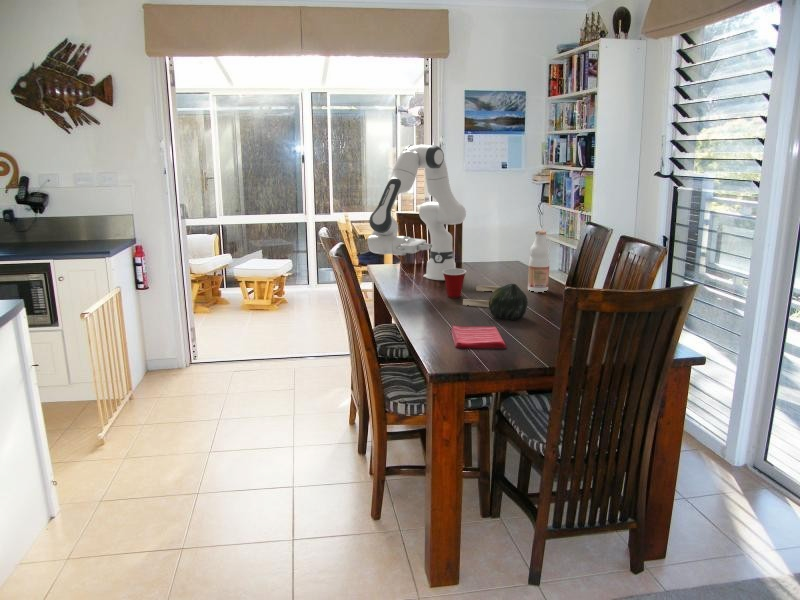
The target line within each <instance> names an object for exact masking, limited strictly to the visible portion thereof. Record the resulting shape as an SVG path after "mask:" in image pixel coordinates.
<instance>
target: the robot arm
mask: <svg viewBox="0 0 800 600" xmlns="http://www.w3.org/2000/svg"><path fill="white" fill-rule="evenodd" d="M419 169H424V175H425V180H426V181H425V182H426V188H427V193H428V194H429V195H430V196H431V197H433V198H434V200H436V201H427V202H423V203H422V204H421V205H420V207H419V208H418V209H419V210H418V215H419V218H420V220H421V221H422V222H423V223H424V224H425V225H426V227H427V229H428V232H429V236H430V243H427V240H426V239H423V238H414V237H410V236H405V235H398V231H399V224H398V222H397V220H396V218H394V217H393V216H392V209H393V207H394V205H395V202H396V200H397V197H398V196H399V195H400V194H402V193H403V194H404V193H407V192H409V191H410V190H411V189H412V187H413V185H414V184H415V180H416V177H417V173H418V170H419ZM466 212H467V211H466V208H465V206H464V205H463V204H461V203H460V202H459V201H458V200H457V198H456V197H455V196H454V193H453V192H452V189H451V186H450V179H449V174H448V168H447V163H446V160H445V154H444V151H443V149H442V148H441V147H440V146H438V145H435V144H433V145H432V144H431V145H430V144H409V145H406V146H405V147H404V148H403V150H402V151H401V153H400V154H399V156H398V158H397V159H396V162H395V163H394V166H393V169H392V172H391V175H390V178H389V181H387V184H386V186H385V189H384V191H383V192H382V195H381V197H380V200H379V203H378V205H377V207H376V208H375V209H374V211H373V212H372V213H371V214H370V217H369V227H370V228H371V229H372V230H373V231H372V233H371V234H369V235H368V237H367V238H366V243H367V245H366V246H367V249H368V250H369V251H370V252H371V253H373V254H378V255H389V254H390V255H394V256H406V255H407V254H416V253H418V252H420V251H429V259H428V260H427V262H426V273H425V274H423V278H426V279H428V280H434V281H445V278H444V274H443V272H442V271H443V270H445V269H450V268H457V267H456V265H457V264H456V261H455V260H454V249H453V235H452V234H451V232H449V231H448V230H447V229H446V227H445V225H452V226H453V225H459V224H462V223H463V222H464V221H465V218H466V215H467V213H466Z"/></svg>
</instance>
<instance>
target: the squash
mask: <svg viewBox="0 0 800 600" xmlns="http://www.w3.org/2000/svg"><path fill="white" fill-rule="evenodd" d="M499 287H500V288H498V289H496V290H495V291H494V292H491V295H490V298H489V299H488V301H489V307H488V309H489V311H490V314H491V315H492V317H495V318H497V319H498V318H500V319H503V318H504V319H506V320H511V321H516V320H520V319H522V317H524V316H525V314H526V312H527V308H528V306H529V305H528V303H529V302H528V297H527V295H526V293H524V291H523V290H522V289H521V288H520V287H519V286H518V285H517V284H516V283H509V284H505V285H503V286H499Z"/></svg>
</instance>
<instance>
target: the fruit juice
mask: <svg viewBox="0 0 800 600" xmlns="http://www.w3.org/2000/svg"><path fill="white" fill-rule="evenodd" d="M546 236H547V231H543V230H535V238H534V241H533V243H532V245H531V246H530V247H529V248H530V249H529V254H530V258H529V260H528V261H529V262H528V275H527V276H528V277H527V290H528V291H529V290H530V291H529V292H531V291H534V292H533V293H538V292H542V293H545V292H544V291H547V290H548V291H549V283H550V281H549V279H550V278H549V277H550V258H549V255H550V253H551V250H550V246H549V245H548V243H547V239H546ZM548 291H547V292H548Z"/></svg>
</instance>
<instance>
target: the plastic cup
mask: <svg viewBox="0 0 800 600" xmlns="http://www.w3.org/2000/svg"><path fill="white" fill-rule="evenodd" d="M442 272H443V274H444V278H445V280H444V282H445V289H446V295H447V297H448V298H453V297H456V298H460V297H461V295H462V290H463V284H464V281H465V276H466V273H467V270H466V269H464V268H458V267H456V268H450V269H445V270H443V271H442Z"/></svg>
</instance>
